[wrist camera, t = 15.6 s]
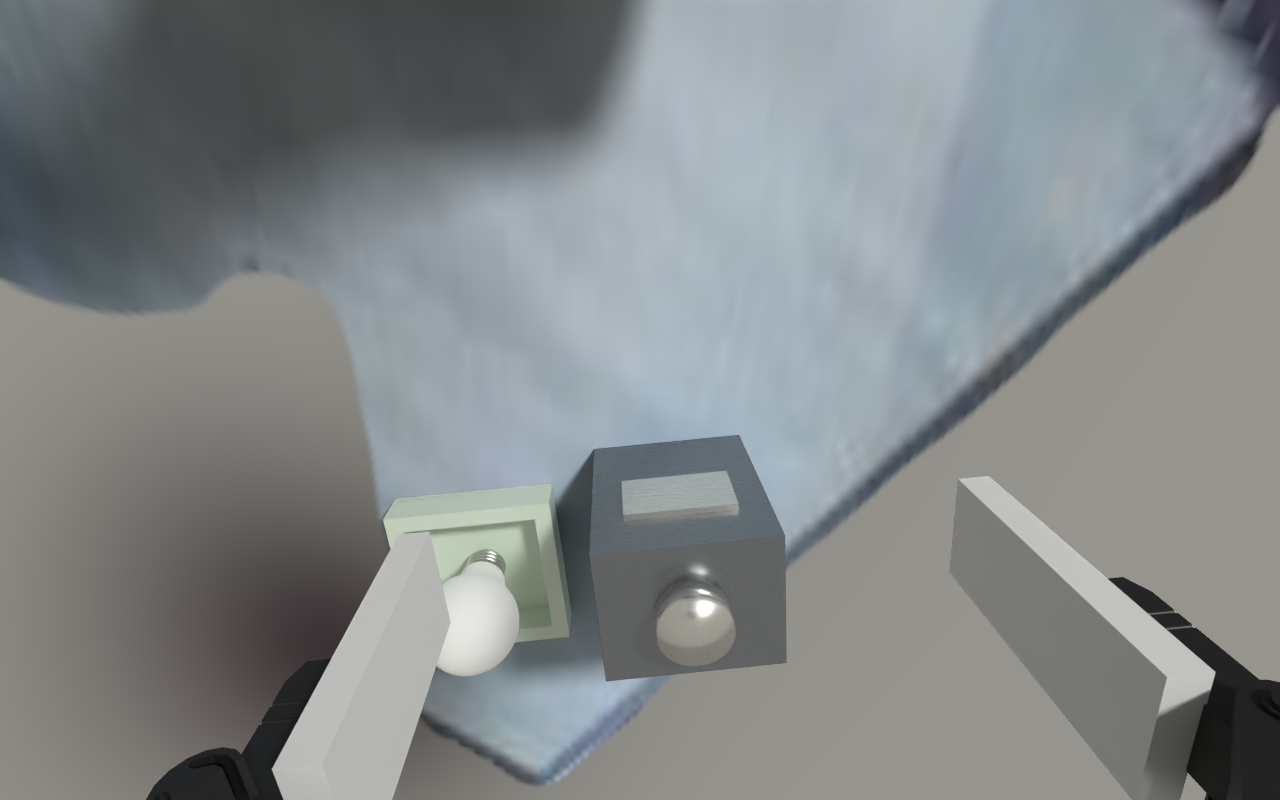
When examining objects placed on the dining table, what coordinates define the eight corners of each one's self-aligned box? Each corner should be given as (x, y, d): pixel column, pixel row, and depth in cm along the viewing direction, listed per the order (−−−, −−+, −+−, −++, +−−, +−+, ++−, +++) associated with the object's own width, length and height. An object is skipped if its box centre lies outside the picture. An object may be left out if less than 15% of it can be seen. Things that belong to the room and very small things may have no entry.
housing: (593, 444, 50) (587, 570, 35) (739, 430, 50) (794, 549, 35) (606, 550, 54) (606, 707, 39) (742, 537, 54) (795, 687, 39)
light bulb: (516, 603, 54) (495, 709, 44) (435, 580, 53) (394, 684, 43) (542, 536, 52) (526, 632, 42) (459, 511, 51) (421, 602, 41)
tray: (395, 498, 51) (382, 519, 48) (552, 483, 51) (548, 503, 48) (427, 625, 55) (417, 652, 52) (571, 611, 56) (569, 637, 53)
